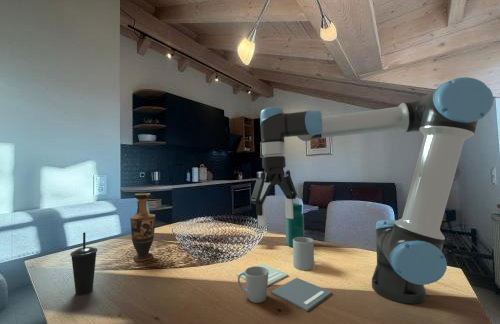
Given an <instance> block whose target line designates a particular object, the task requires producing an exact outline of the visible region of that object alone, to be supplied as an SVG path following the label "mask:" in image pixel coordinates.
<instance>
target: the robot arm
mask: <svg viewBox="0 0 500 324" xmlns="http://www.w3.org/2000/svg"><path fill="white" fill-rule="evenodd" d="M493 105H494V95H493V92H492V90H491V88H490V87H488V86H487V85H486V83H485V82H483V81H482V80H480V79H476V78H474V77H469V76H467V77H465V76H464V77H461V76H460V77H457V78H453V79H449V81H448V80H447V81H446V82H443V83H441V84H440V85H439V86H437V88H435V89H434V90H433V91H431V92H429V93H428V94H426V95H424V96H422V97H421V98H418V99H416V100H413V101H408V102H402V103H399V105H398V106H394V107H386V108H379V109H372V110H363V111H357V112H348V113H340V114H333V115H326V116H322V115H323V114H322V112H321V110H318V109H317V110H304V111H297V112H296V111H295V112H288V113H285V112H284V109H283V108H281V107H278V106H277V107H275V106H271V107H270V106H269V107H265V108H262V110H261V111H260V121H259V122H260V124H259V125H260V137H261V138H260V139H261V155H262V156H263V157H262V159H261V160H262V161H261V164H262V166H261V167H262V169H264V171H257V172H256V179H255V180H256V181H255V183H254V187H253V191H252V194H251V197H250V199H249V200H250V201H249V202H250V203H251V204H253V205H255V213H256V216H257V226H258V227H263V228H265V227H267V218H266V215H267V214H266V204H264V203H265V200H266V198H267V196H268V194H269V193H270V190H271V188H272V187H273V186H276V185H277V186H278V187H279V188H280V190H281V191H282V193H283V195H284V196H285V198H284V205H285V206H284V207H285V208H284V210H285V215H286V216H285V219H286V218H289V219H293V203H294V200H295V199H296V197H297V196H298V193H297V190H296V188H295V184H294V182H293V180H292V179H293V178H292V176H291V175H292V174H291V171H290V169H287V170H284V169H285V168H286V166H287V165H286V164H287V162H286V157H285V156H284V155H286V146H285V145H286V144H285V138H290V137H297V138H298V139H299V140H301V141H303V142H309V141H312V140H316V139H325V138H334V137H344V136H355V135H362V134H363V135H365V134H371V133H379V132H380V133H381V132H391V131H401V132H402V133H410V132H411V133H412V132H420V133H421V134H422V135H423V140H422V144H421V147H420V149H419V155H418V156H417V157H418V158H417V161H416V165H415V169H414V173H413V177H412V180H411V184H410V187H409V191H408V195H407V199H406V202H405V205H404V210H403V213H402V217H401V218H400V219H398V220H397V219H396V220H395V219H392V220H391V219H380V220H378V221H376V223H375V241H376V242H375V243H376V247H375V248H376V266H375V268H374V272H373V273H372V277H371V287H372V290H373V292H375V293H376V294H379V296H381V297H384V298H385V299H388V300H390V301H391V300H392V301H394V302H398V303H403V304H420V303H423V302H424V301H426V299H427V292H426V287H425V285H430V284H433V283H437V282H439V281H440V280H441V279H442V278H443V277H444V275H445V274H446V272H447V270H448V269H447V267H448V264H447V259H446V256H445V254H444V253H443V252H442V251H443V247H444V244H445V239H446V237H445V235H444V234H443V232H442V231H441V225H442V222H443V219H444V214H445V211H446V208H447V204H448V200H449V196H450V193H451V189H452V186H453V182H454V180H455V175H456V172H457V169H458V164H459V161H460V157H461V153H462V150H463V146H464V143H465V141H466V140H468V139H470V138H472V137H474V135H475V133H476V129H477V126H478V122H479V120H481V119H483V118H484V117H485V116H486V115H487V114H488V113H489V112H491V110H492V107H493Z"/></svg>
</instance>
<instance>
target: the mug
mask: <svg viewBox="0 0 500 324" xmlns="http://www.w3.org/2000/svg"><path fill="white" fill-rule="evenodd" d="M314 243H315V241H314V239H313V238H311V237H306V236H304V237H296V238H294V239H293V247H292V253H293V254H292V261H293V262H292V263H293V264H292V265H293V267H294V268H295V269H297V270H299V271H304V272H306V271H311V270H313V269H314V268H315V253H314V252H315V251H314V249H315V247H314V245H315V244H314Z"/></svg>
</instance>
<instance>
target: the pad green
mask: <svg viewBox="0 0 500 324" xmlns="http://www.w3.org/2000/svg"><path fill="white" fill-rule="evenodd" d="M256 266H259V267H264V268H266V269H268V271H269V273H268V286H267V287H269V286H270V285H273V284H274V283H277V282H279V281H280V280H283V279H284V278H287V277H288V276H289V273H286V272H285V271H284V272H283V271H282V270H279V269H277V268H273V267H271V266H269V265H266V264H264V263H260V264H257V265H256ZM244 271H245V270H243V271H241V272H237V273H236V275H237V277H238V276H239V274H240V273H242V272H244ZM240 278H241V279H242V280H245V281H246V279H245V276H244V275H241V276H240Z"/></svg>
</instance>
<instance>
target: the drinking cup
mask: <svg viewBox="0 0 500 324" xmlns="http://www.w3.org/2000/svg"><path fill="white" fill-rule="evenodd" d="M97 252H98V248H97V247H92V246H86V232H83V233H82V247H79V248H77V249H75V250H74V251H71V252H70V257H71V263H72V275H73V282H74V290H75V295H76V296H84V295H87V294H89V293H91V292H92V291H93V289H94V280H95V270H96V261H97Z"/></svg>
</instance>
